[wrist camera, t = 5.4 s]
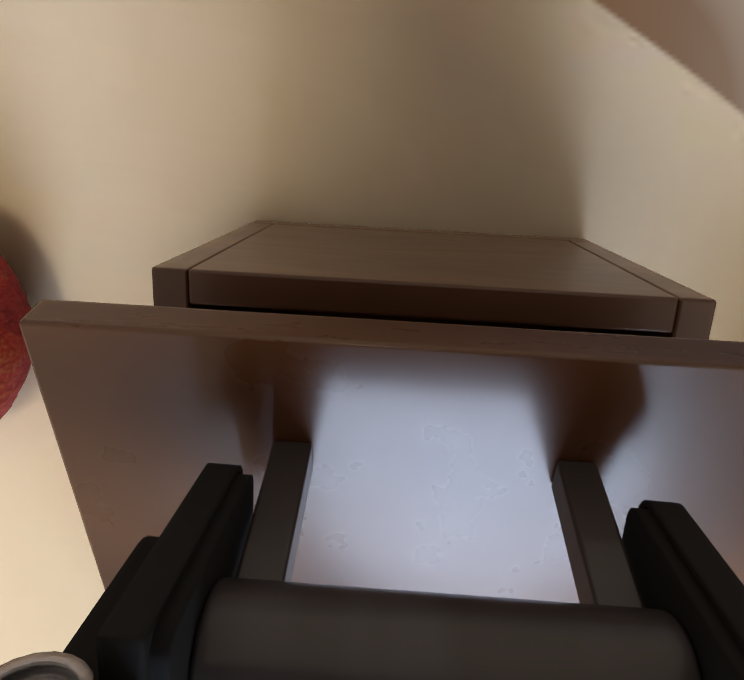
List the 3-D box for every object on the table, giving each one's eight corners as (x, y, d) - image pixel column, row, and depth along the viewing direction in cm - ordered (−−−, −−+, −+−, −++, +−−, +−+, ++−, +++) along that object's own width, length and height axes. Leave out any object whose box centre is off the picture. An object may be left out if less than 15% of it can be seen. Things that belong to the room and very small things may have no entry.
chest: (255, 220, 26) (151, 267, 15) (585, 238, 26) (718, 300, 15) (256, 543, 31) (176, 756, 20) (537, 564, 30) (612, 793, 20)
